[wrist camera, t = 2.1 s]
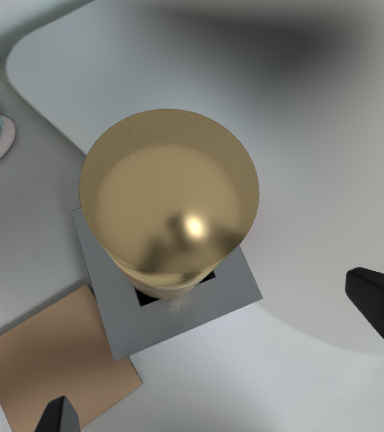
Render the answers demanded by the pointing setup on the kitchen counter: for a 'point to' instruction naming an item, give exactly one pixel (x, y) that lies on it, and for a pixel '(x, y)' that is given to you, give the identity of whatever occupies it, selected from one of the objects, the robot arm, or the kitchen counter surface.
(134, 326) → the housing
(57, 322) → the mat
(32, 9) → the kitchen counter surface
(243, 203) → the gold metal cylinder
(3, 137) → the pacifier
